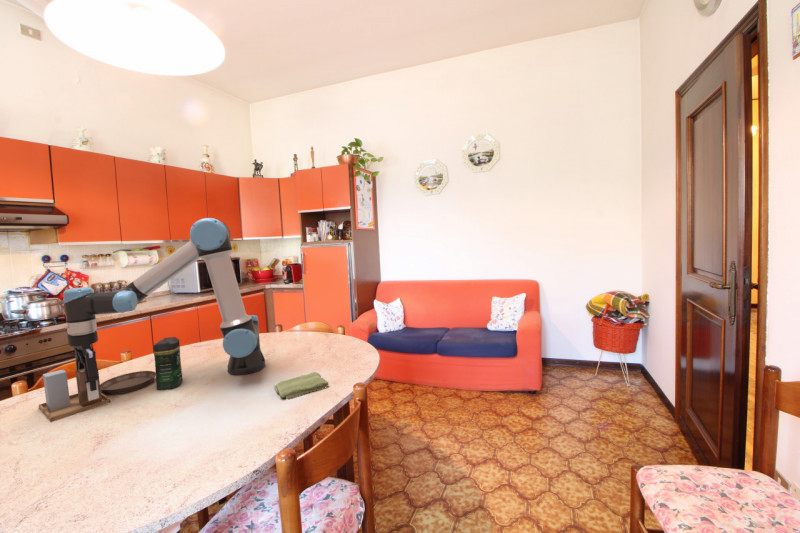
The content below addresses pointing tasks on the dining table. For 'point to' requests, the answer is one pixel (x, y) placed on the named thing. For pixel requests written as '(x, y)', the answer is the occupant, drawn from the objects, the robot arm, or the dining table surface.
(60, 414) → the parts tray
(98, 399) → the labelled carton
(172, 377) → the coffee jar
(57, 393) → the plain carton
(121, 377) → the plant saucer
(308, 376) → the washcloth
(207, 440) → the dining table surface
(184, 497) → the dining table surface
